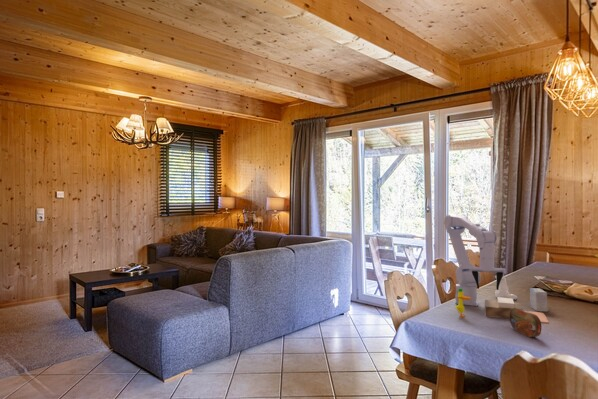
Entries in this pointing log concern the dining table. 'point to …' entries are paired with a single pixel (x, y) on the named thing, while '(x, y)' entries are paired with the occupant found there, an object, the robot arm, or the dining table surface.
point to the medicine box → (538, 299)
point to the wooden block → (498, 309)
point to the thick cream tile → (505, 302)
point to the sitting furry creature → (504, 290)
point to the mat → (540, 316)
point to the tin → (525, 322)
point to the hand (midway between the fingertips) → (487, 289)
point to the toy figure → (461, 302)
